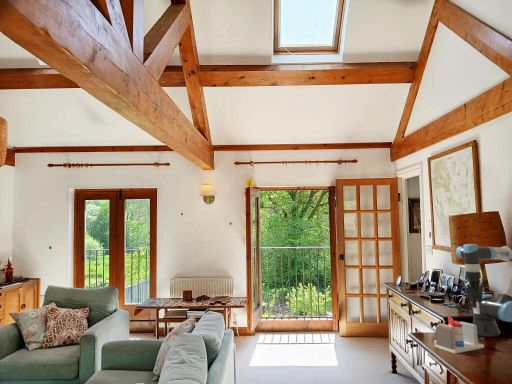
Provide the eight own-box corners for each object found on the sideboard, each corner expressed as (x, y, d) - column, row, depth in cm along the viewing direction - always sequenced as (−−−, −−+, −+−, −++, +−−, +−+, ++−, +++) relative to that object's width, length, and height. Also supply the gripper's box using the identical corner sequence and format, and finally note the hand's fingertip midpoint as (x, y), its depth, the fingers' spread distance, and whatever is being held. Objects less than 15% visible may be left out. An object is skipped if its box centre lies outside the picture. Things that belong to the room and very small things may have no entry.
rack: (463, 341, 213) (461, 318, 214) (484, 347, 201) (481, 323, 202) (434, 346, 205) (432, 323, 206) (454, 353, 193) (452, 328, 194)
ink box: (464, 347, 198) (461, 318, 200) (454, 346, 199) (452, 318, 201) (459, 342, 206) (456, 315, 208) (449, 342, 207) (447, 315, 209)
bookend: (463, 339, 210) (462, 321, 211) (478, 343, 202) (476, 325, 203) (460, 340, 209) (458, 322, 211) (474, 344, 201) (473, 325, 202)
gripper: (475, 269, 218) (478, 311, 216) (458, 271, 214) (462, 313, 211) (486, 271, 211) (491, 313, 209) (470, 272, 207) (474, 316, 204)
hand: (476, 313), depth 210 cm, fingers closed
